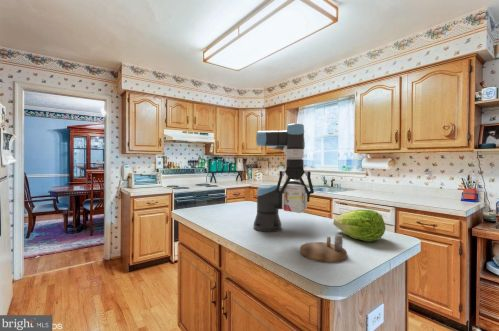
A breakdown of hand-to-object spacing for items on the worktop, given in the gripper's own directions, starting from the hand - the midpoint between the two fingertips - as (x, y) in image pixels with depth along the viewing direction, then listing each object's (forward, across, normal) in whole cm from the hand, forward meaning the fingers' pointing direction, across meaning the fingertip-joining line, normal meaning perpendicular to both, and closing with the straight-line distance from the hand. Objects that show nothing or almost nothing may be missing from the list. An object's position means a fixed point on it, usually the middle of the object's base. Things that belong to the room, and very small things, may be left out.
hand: (294, 208), depth 114 cm
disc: (+15, +11, -12) cm, 22 cm away
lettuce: (+16, +31, +12) cm, 37 cm away
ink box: (+1, 0, 0) cm, 1 cm away
